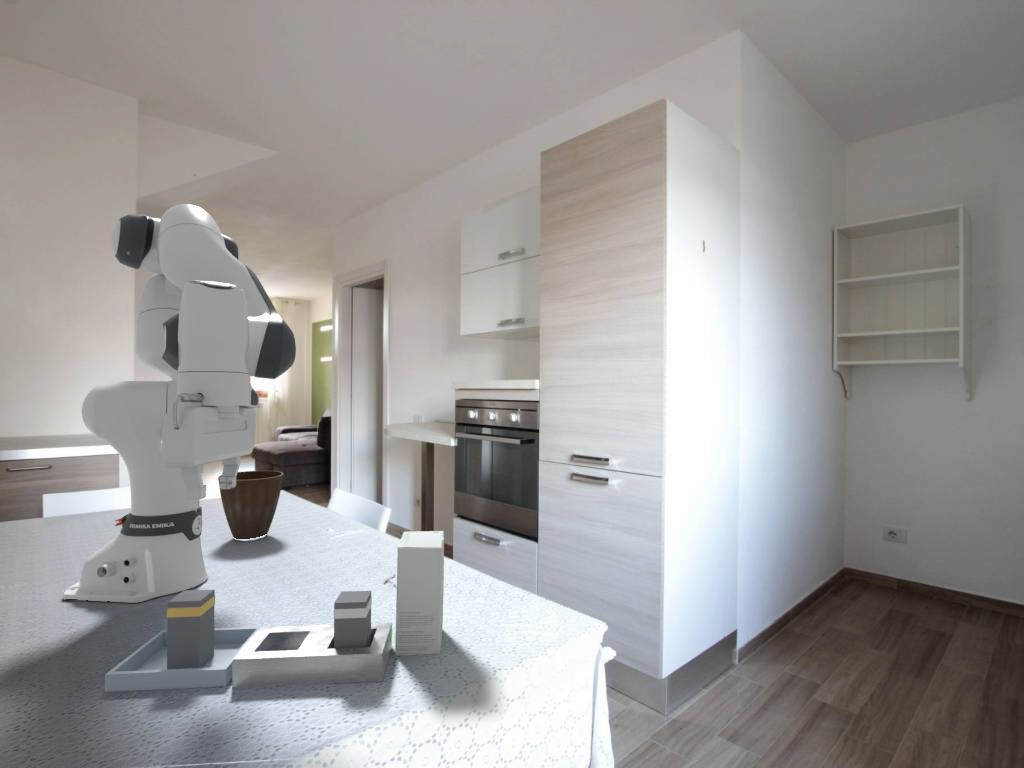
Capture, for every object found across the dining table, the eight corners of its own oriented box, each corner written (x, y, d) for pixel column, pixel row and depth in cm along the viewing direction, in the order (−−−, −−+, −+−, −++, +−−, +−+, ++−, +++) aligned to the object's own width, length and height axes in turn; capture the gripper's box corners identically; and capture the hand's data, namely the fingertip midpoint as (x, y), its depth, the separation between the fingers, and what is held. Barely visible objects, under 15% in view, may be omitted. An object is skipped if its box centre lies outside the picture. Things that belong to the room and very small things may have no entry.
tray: (104, 696, 64) (104, 674, 64) (161, 648, 76) (161, 630, 76) (225, 690, 65) (225, 669, 65) (262, 644, 77) (262, 626, 77)
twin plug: (333, 673, 68) (333, 603, 68) (340, 657, 72) (341, 591, 72) (365, 672, 68) (366, 602, 69) (371, 656, 73) (371, 590, 73)
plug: (166, 672, 68) (167, 601, 68) (183, 656, 72) (184, 590, 72) (199, 670, 69) (200, 600, 69) (214, 655, 73) (215, 589, 73)
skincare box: (401, 632, 81) (402, 530, 81) (445, 631, 81) (445, 529, 82) (394, 660, 73) (394, 546, 73) (442, 658, 73) (443, 545, 73)
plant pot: (294, 535, 137) (295, 473, 137) (239, 549, 124) (239, 481, 125) (261, 527, 145) (261, 469, 145) (205, 540, 132) (206, 476, 133)
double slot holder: (232, 692, 65) (232, 659, 65) (260, 656, 74) (260, 627, 74) (381, 685, 66) (382, 653, 66) (391, 650, 75) (391, 622, 75)
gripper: (202, 391, 64) (200, 506, 64) (263, 396, 85) (263, 483, 84) (146, 392, 64) (144, 508, 63) (222, 396, 84) (221, 484, 83)
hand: (213, 493), depth 74 cm, fingers open, 8 cm apart
